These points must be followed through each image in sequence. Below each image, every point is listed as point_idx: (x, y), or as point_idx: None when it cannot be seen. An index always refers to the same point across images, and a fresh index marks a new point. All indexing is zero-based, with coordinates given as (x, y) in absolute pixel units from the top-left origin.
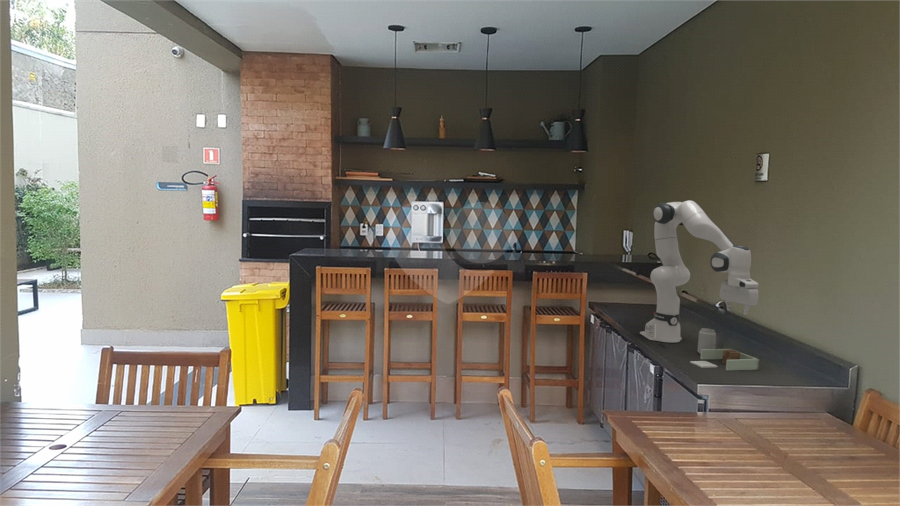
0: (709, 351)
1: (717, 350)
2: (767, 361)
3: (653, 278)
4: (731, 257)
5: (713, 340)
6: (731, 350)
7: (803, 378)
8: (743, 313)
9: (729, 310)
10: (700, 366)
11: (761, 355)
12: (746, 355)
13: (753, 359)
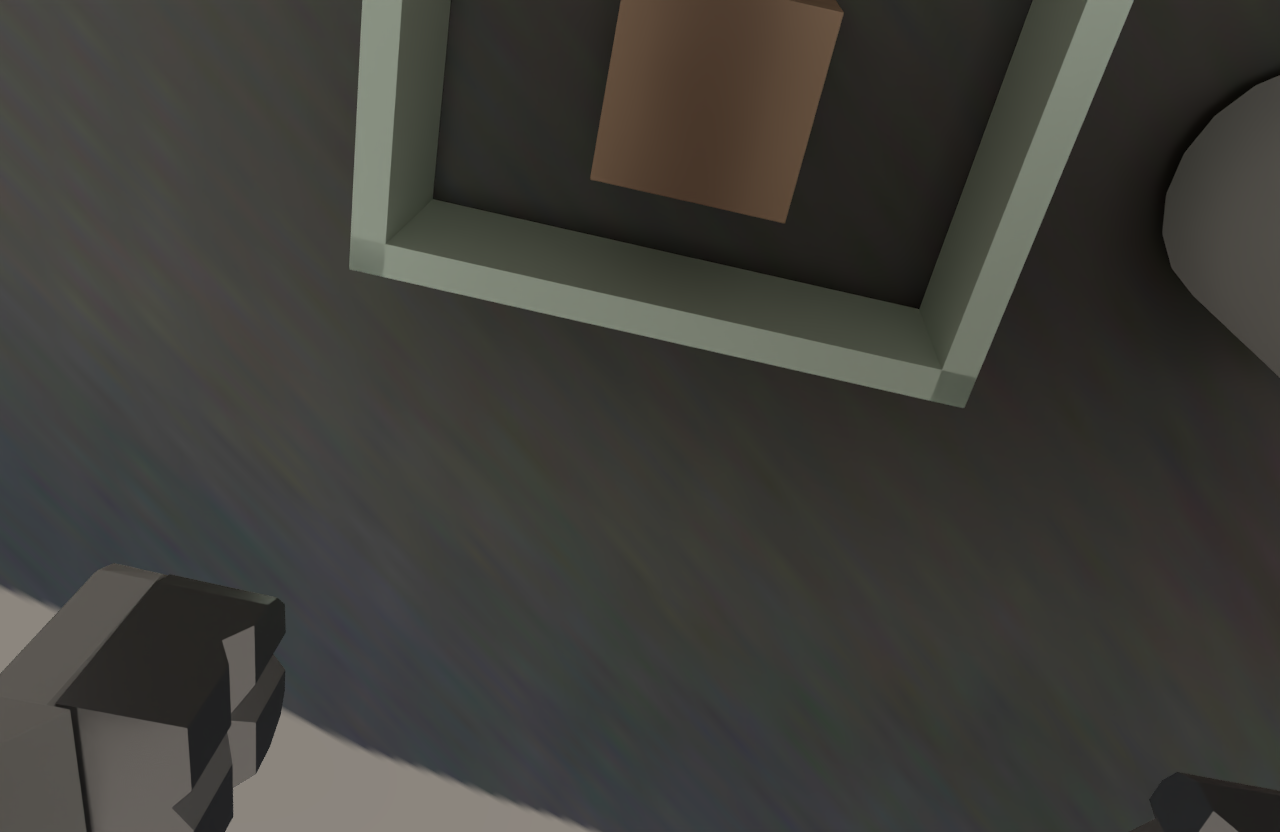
0: None
1: (1036, 120)
2: (650, 636)
3: None
4: None
5: (1272, 275)
6: (751, 148)
7: (32, 401)
8: (161, 580)
9: (1184, 784)
10: None
11: (848, 779)
12: (585, 289)
13: (364, 172)
